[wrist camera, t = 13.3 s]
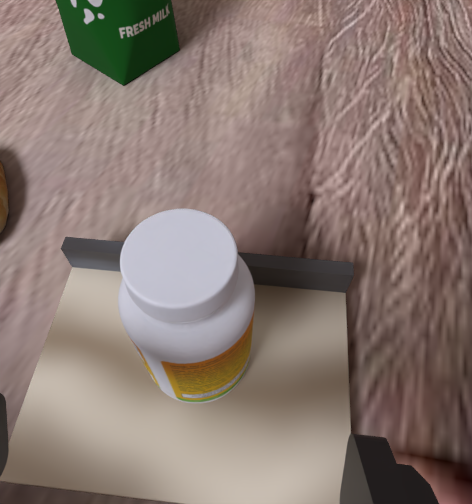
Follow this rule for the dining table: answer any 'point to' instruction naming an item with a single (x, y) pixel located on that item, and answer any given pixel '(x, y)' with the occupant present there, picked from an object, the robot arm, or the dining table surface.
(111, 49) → the milk carton
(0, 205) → the pastry
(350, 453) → the robot arm
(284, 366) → the shelf board
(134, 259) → the supplement bottle
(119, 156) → the dining table surface
